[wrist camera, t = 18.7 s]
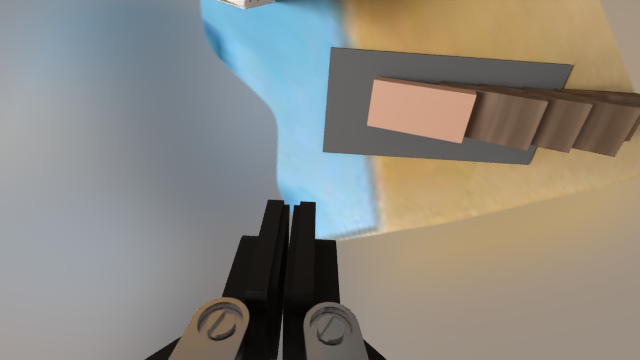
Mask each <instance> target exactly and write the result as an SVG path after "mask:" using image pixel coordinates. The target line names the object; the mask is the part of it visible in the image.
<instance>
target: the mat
mask: <svg viewBox="0 0 640 360" xmlns="http://www.w3.org/2000/svg"><path fill="white" fill-rule="evenodd" d="M572 66H573V65H568V64H554V63H540V62H526V61H512V60H498V59H485V58H471V57H457V56H443V55H429V54H416V53H402V52H388V51H374V50H360V49H346V48H333V47H331V54H330V67H329V80H328V92H327V105H326V118H325V131H324V143H323V152H328V153H344V154H360V155H377V156H393V157H409V158H426V159H442V160H458V161H475V162H491V163H507V164H524V165H529V163H530V160H531V158H532V156H533V154H534V151H535V149H536V147H537V146H533V145H530V146H529V148H528V150H527V151H526V150H522V149H517V148H513V147H508V146H503V145H499V144H494V143H490V142H485V141H480V140H476V139H471V138H466V137H463V140H462V143H456V142H451V141H446V140H440V139H435V138H430V137H425V136H420V135H414V134H409V133H404V132H399V131H393V130H388V129H383V128H378V127H372V126H367V122H368V115H369V109H370V102H371V96H372V89H373V83H374V79H375V78H376V77H378V76H379V77H386V78H392V79H399V80H406V81H413V82H420V83H426V84H433V85H438V84H439V83H440V82H441V81H447V82H453V83H460V84H466V85H472V86H478V87H479V85H480V83H482V84H488V85H495V86H501V87H508V88H514V89H520V90H522V87H530V88H536V89H543V90H549V91H554V88H558V89H562V88H563V86H564V84H565V81H566V79H567V77H568V75H569V72H570V70H571V68H572Z"/></svg>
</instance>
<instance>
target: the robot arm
mask: <svg viewBox="0 0 640 360" xmlns="http://www.w3.org/2000/svg"><path fill="white" fill-rule="evenodd" d="M289 213H290V205H284V200H268V202H267V206H266V210H265V213H264V217H263V221H262V225H261V229H260V233H259V236H245V235H243V236H242V238H241V240H240V243H239V246H238V249H237V252H236V255H235V258H234V262H233V264H232V268H231V270H230V274H229V277H228V280H227V283H226V286H225V289H224V292H223V295H222V298H218V299H214V300H212V301H210V302H208V303H206V304H204V305H203V306H202V307H200V308H199V310H198V311H197V312H196V313H195V315H194V316H193V318H192V319H191V321H190V323H189V325H188V326H187V328H186V330H185V332H184V333H183V335H182V336H181V337H180V338H178V339H176V340H175V341H173V342H172V343H170V344H169V345H167V346H165V347H164V348H163V349H161V350H159V351H158V352H156V353H154V354H153V355H151V356H150V357H148V358H147V359H145V360H277V356H278V348H279V340H280V331H281V323H282V314H283V360H386V359H385V358H384V357H383V356H382V355H381V354H379V353H378V352H377V351H376V350H375V349H374V348H373V347H372V346H370V345H369V344H368V343H367V342H366V341H365V340H364V339H363V337H362V334H361V330H360V327H359V323H358V321H357V319H356V317H355V315H354V314H353V313H352V312H351V310H350V309H348V308H347V307H345V306H344V305H341V304H340V295H339V281H338V264H337V249H336V241H335V240H322V239H315V215H316V202H303V201H301V202H300V205H294V211H293V219H292V227H291V236H290V243H289Z"/></svg>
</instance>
